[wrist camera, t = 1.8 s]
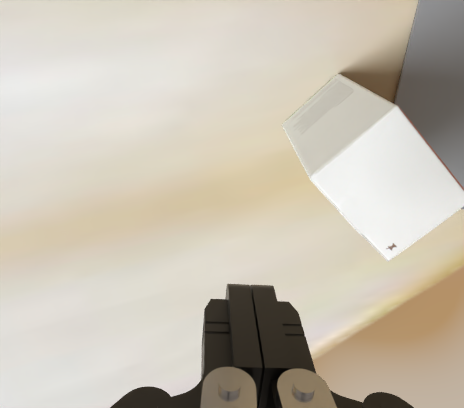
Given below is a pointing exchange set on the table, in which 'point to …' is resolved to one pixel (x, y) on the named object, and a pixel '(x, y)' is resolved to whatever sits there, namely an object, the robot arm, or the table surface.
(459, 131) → the mat
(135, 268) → the table surface
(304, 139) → the small box
